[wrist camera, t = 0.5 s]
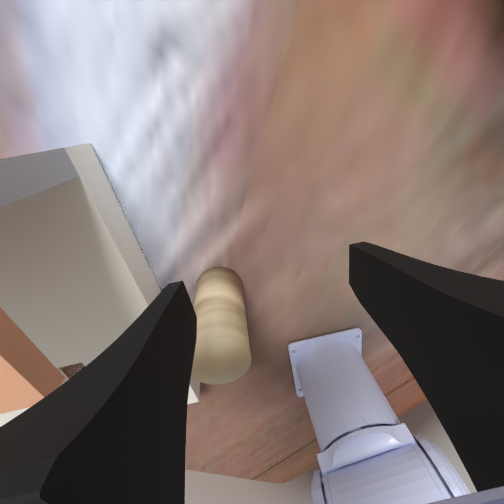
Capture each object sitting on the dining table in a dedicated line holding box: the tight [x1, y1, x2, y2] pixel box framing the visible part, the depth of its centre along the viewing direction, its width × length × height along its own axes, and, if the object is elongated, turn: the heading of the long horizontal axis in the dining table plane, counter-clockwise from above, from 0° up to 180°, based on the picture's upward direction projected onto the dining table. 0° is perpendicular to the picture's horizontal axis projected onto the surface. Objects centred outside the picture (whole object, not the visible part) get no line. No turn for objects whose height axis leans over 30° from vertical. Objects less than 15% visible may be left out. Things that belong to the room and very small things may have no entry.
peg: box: [191, 267, 251, 384], centre depth 19 cm, size 4×4×8 cm
